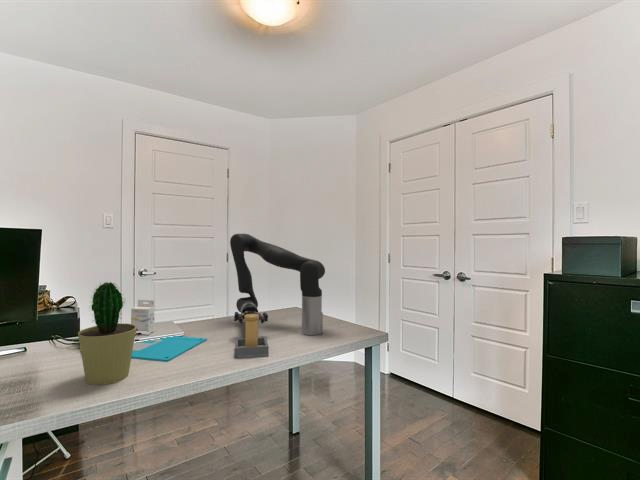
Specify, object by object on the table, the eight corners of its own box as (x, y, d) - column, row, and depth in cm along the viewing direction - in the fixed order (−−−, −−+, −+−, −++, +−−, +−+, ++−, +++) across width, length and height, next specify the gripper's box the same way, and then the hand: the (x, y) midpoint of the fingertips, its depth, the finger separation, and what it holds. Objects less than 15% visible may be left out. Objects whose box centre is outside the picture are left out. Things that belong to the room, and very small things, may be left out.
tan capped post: (258, 346, 132) (258, 313, 132) (258, 350, 127) (259, 316, 127) (244, 346, 131) (244, 314, 131) (244, 351, 126) (244, 317, 126)
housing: (265, 345, 136) (266, 337, 136) (268, 355, 125) (268, 346, 125) (235, 347, 134) (235, 338, 134) (235, 358, 122) (235, 348, 122)
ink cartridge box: (130, 334, 150) (130, 301, 150) (137, 331, 155) (137, 299, 155) (148, 335, 150) (148, 301, 149) (154, 332, 154) (155, 299, 154)
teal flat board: (168, 362, 118) (168, 360, 118) (100, 356, 123) (100, 353, 123) (207, 340, 144) (207, 338, 144) (149, 336, 149) (149, 334, 149)
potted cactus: (142, 377, 104) (143, 280, 104) (82, 393, 94) (83, 285, 93) (129, 363, 115) (129, 276, 115) (73, 376, 105) (74, 279, 105)
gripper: (234, 303, 154) (235, 311, 138) (265, 304, 158) (270, 312, 142) (232, 319, 154) (233, 330, 138) (264, 320, 158) (268, 330, 142)
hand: (252, 321), depth 140 cm, fingers open, 8 cm apart
